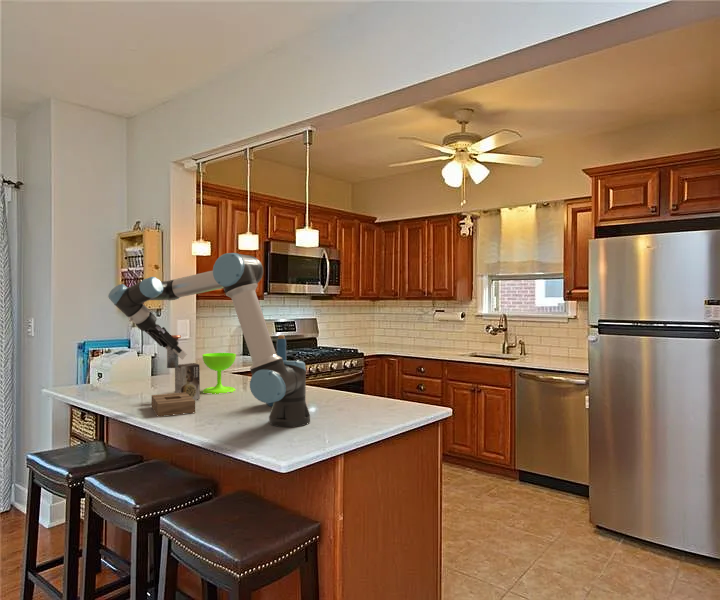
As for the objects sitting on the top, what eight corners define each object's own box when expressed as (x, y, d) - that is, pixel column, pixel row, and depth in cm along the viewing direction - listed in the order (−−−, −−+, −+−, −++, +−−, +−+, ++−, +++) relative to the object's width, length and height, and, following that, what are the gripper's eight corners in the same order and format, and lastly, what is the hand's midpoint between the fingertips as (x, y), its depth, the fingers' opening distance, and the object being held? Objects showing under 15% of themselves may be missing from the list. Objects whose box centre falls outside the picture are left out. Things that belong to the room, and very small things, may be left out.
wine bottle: (259, 405, 229) (259, 335, 228) (283, 400, 238) (283, 333, 238) (279, 409, 219) (279, 337, 219) (303, 405, 229) (303, 335, 229)
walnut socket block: (195, 412, 213) (195, 400, 213) (158, 416, 206) (158, 403, 206) (186, 403, 230) (186, 392, 230) (151, 406, 224) (151, 395, 224)
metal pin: (182, 367, 217) (182, 336, 217) (165, 368, 214) (165, 336, 214) (179, 365, 223) (179, 334, 222) (163, 366, 219) (163, 335, 219)
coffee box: (193, 397, 244) (193, 362, 244) (200, 399, 239) (200, 364, 239) (174, 400, 238) (174, 364, 237) (181, 402, 233) (181, 365, 233)
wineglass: (221, 387, 272) (221, 352, 272) (242, 390, 263) (242, 354, 263) (195, 391, 259) (195, 354, 259) (216, 395, 250) (216, 357, 250)
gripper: (125, 323, 212) (164, 361, 225) (146, 325, 201) (186, 365, 213) (138, 310, 216) (176, 348, 229) (160, 311, 205) (198, 351, 217)
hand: (181, 356), depth 221 cm, fingers closed on metal pin, 4 cm apart
